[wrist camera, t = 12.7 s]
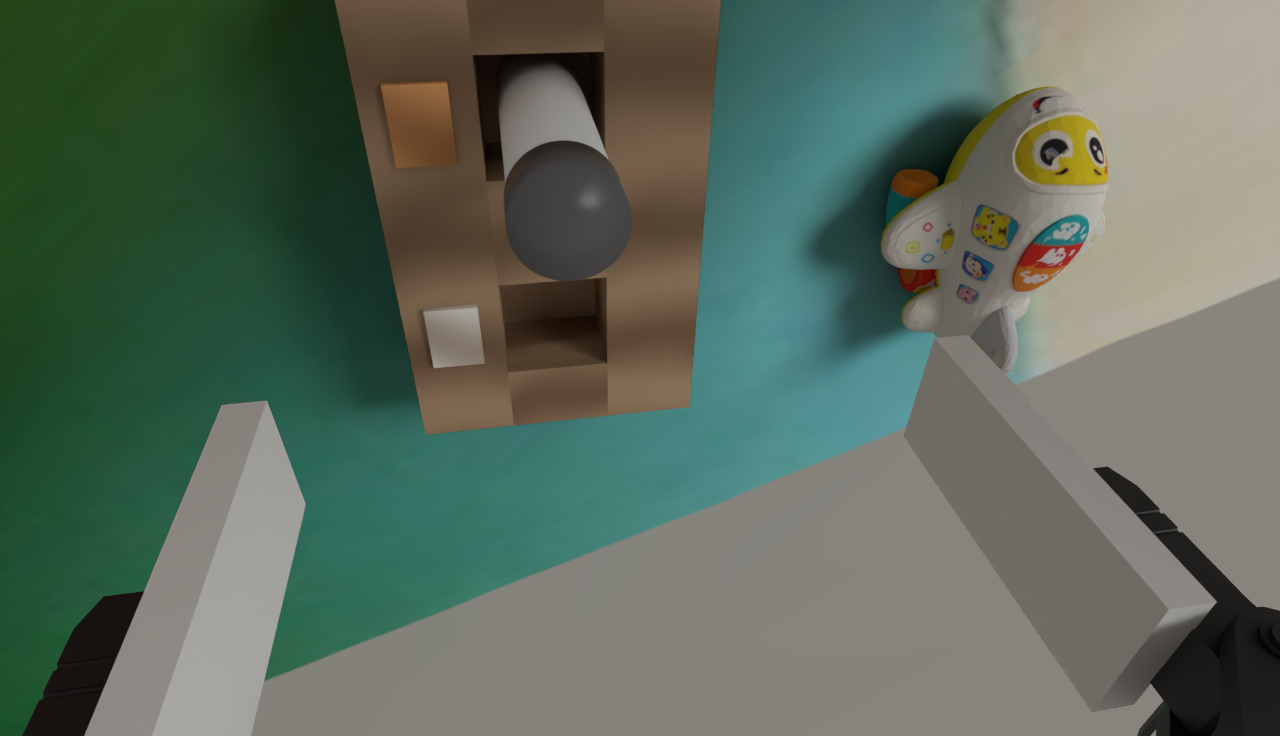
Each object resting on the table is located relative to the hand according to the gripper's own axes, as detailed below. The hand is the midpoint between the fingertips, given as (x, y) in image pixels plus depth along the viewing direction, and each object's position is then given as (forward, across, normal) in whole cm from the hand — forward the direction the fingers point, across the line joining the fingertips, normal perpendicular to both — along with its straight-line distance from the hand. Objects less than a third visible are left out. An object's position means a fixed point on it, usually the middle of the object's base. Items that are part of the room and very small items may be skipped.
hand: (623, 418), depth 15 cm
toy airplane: (+25, +24, -8) cm, 36 cm away
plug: (+23, 0, 0) cm, 23 cm away
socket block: (+25, 0, -5) cm, 25 cm away
